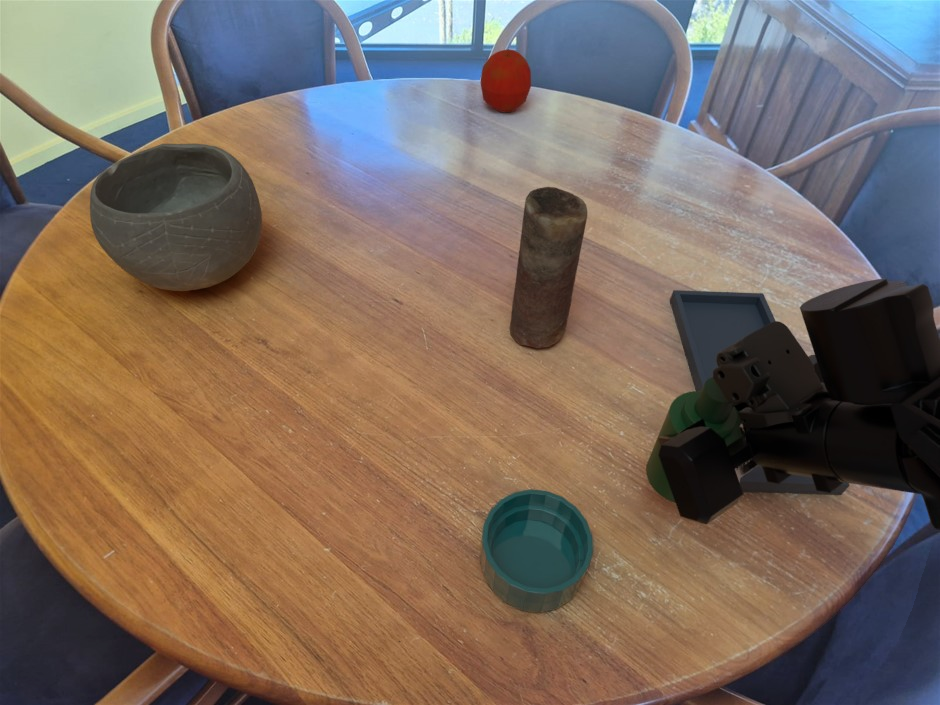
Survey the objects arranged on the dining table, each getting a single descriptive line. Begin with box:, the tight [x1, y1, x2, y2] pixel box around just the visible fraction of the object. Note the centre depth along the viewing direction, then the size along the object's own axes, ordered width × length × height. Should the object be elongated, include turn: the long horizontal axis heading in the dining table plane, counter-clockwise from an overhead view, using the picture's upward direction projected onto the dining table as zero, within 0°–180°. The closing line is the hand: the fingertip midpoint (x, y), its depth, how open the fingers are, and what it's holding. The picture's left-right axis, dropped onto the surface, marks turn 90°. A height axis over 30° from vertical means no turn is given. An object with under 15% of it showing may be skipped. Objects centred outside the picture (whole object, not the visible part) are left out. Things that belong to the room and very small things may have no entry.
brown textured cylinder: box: [509, 186, 588, 349], centre depth 76 cm, size 8×7×20 cm
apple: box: [480, 48, 532, 113], centre depth 123 cm, size 10×10×12 cm
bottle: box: [645, 377, 743, 504], centre depth 55 cm, size 6×6×13 cm
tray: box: [669, 289, 851, 496], centre depth 77 cm, size 31×13×2 cm, turn 179°
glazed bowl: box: [479, 488, 594, 613], centre depth 59 cm, size 10×10×5 cm
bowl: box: [89, 143, 263, 292], centre depth 84 cm, size 21×21×15 cm
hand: (687, 426), depth 56 cm, fingers closed on bottle, 6 cm apart
